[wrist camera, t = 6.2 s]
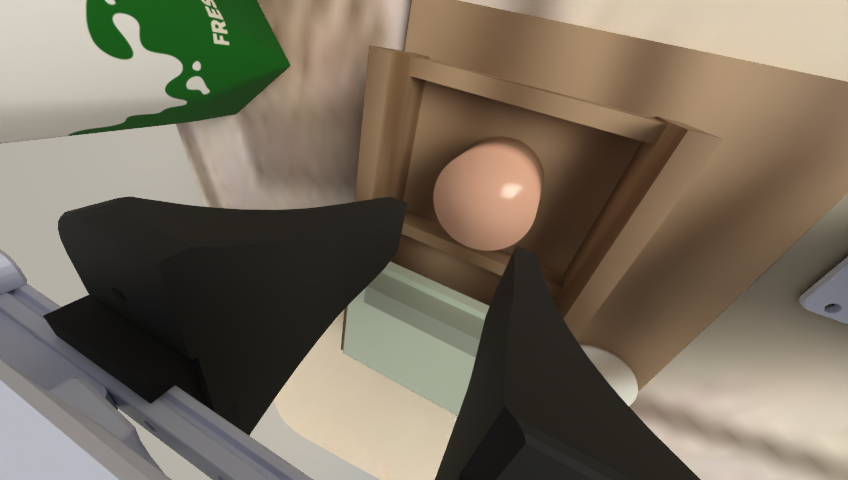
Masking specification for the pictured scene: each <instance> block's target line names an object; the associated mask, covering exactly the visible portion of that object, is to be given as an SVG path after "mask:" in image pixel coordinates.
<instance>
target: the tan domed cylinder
mask: <svg viewBox="0 0 848 480" xmlns="http://www.w3.org/2000/svg"><path fill="white" fill-rule="evenodd" d="M543 184H544V172H543V168H542V165H541V162H540V160H539V158H538V156H537V155H536V154H535V152H534V151H533V150H532V149H531V148H530V147H529V146H527V145H526V144H525V143H523V142H521V141H519V140H517V139H514V138H510V137H503V136H500V137H491V138H488V139H485V140H482V141H480V142H479V143H477V144H475V145H474V146H473V147H471V148H470V149H468V150H467V151H465V152H464V153H463V154H461V155H460V156H458V157H457V158H455V159H454V160H452V161H451V162H450V163H449V164H448V165H447V166H446V167H445V168H444V169H443V170H442V172H441V173H440V175H439V177H438V179H437V181H436V184H435V188H434V195H433V201H434V208H435V212H436V215H437V218H438V220H439V222H440V224H441V225H442V227H443V228H444V229H445V231H446V232H447V233H448V234H449V235H450V236H451V237H452V238H454V239H455V240H456V241H458V242H459V243H461V244H463V245H465V246H467V247H470V248H473V249H477V250H484V251H493V250H499V249H503V248H506V247H509V246H511V245H513V244H515V243H516V242H518V241H519V240H520V239H522V238H523V237H524V236H525V235H526V233H527V232H528V231H529V229H530V228H531V226H532V224H533V222H534V219H535V217H536V213H537V209H538V205H539V201H540V197H541V193H542V189H543Z"/></svg>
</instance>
